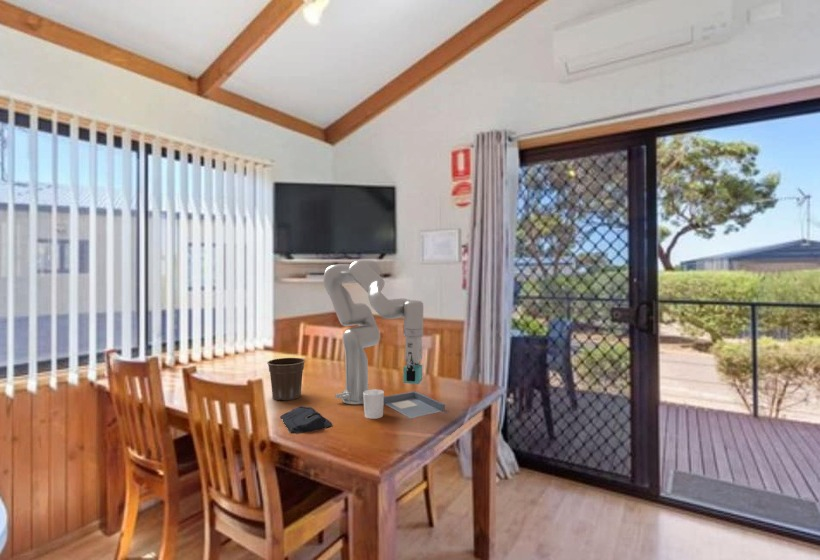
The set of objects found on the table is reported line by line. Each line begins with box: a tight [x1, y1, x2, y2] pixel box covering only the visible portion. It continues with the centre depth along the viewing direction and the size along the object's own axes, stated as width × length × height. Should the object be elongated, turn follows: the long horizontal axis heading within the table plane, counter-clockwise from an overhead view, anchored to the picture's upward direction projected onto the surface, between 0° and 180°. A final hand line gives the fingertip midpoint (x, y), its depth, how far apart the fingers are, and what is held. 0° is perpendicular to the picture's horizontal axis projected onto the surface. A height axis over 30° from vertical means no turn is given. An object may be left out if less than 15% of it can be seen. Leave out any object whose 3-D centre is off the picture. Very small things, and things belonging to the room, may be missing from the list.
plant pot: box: [266, 357, 306, 401], centre depth 199 cm, size 16×16×16 cm
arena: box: [384, 390, 446, 419], centre depth 180 cm, size 16×22×4 cm
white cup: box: [363, 388, 385, 420], centre depth 170 cm, size 8×8×10 cm
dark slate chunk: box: [279, 406, 333, 435], centre depth 167 cm, size 15×22×5 cm
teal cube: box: [402, 364, 423, 385], centre depth 173 cm, size 6×6×6 cm
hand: (412, 378), depth 173 cm, fingers closed on teal cube, 6 cm apart
